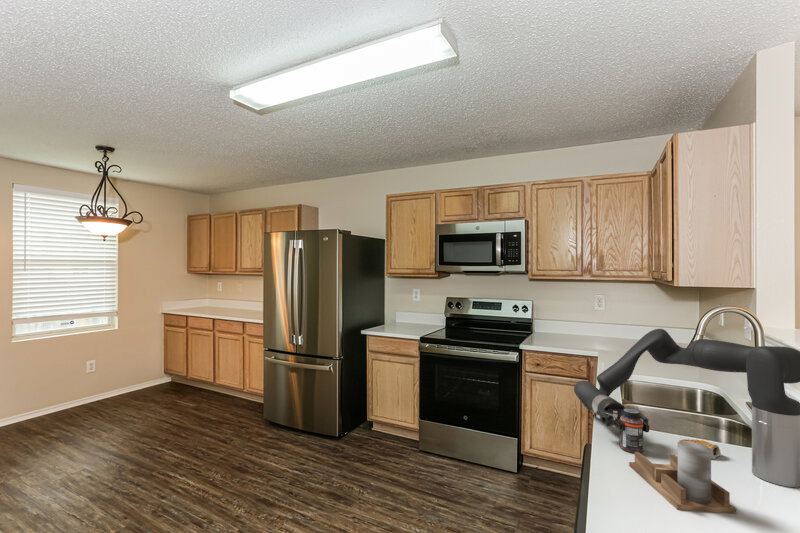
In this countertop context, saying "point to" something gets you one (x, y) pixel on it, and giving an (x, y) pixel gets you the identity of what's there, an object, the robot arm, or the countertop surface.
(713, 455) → the pastry
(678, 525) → the countertop surface
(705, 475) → the rail rack
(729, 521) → the countertop surface
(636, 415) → the supplement bottle
